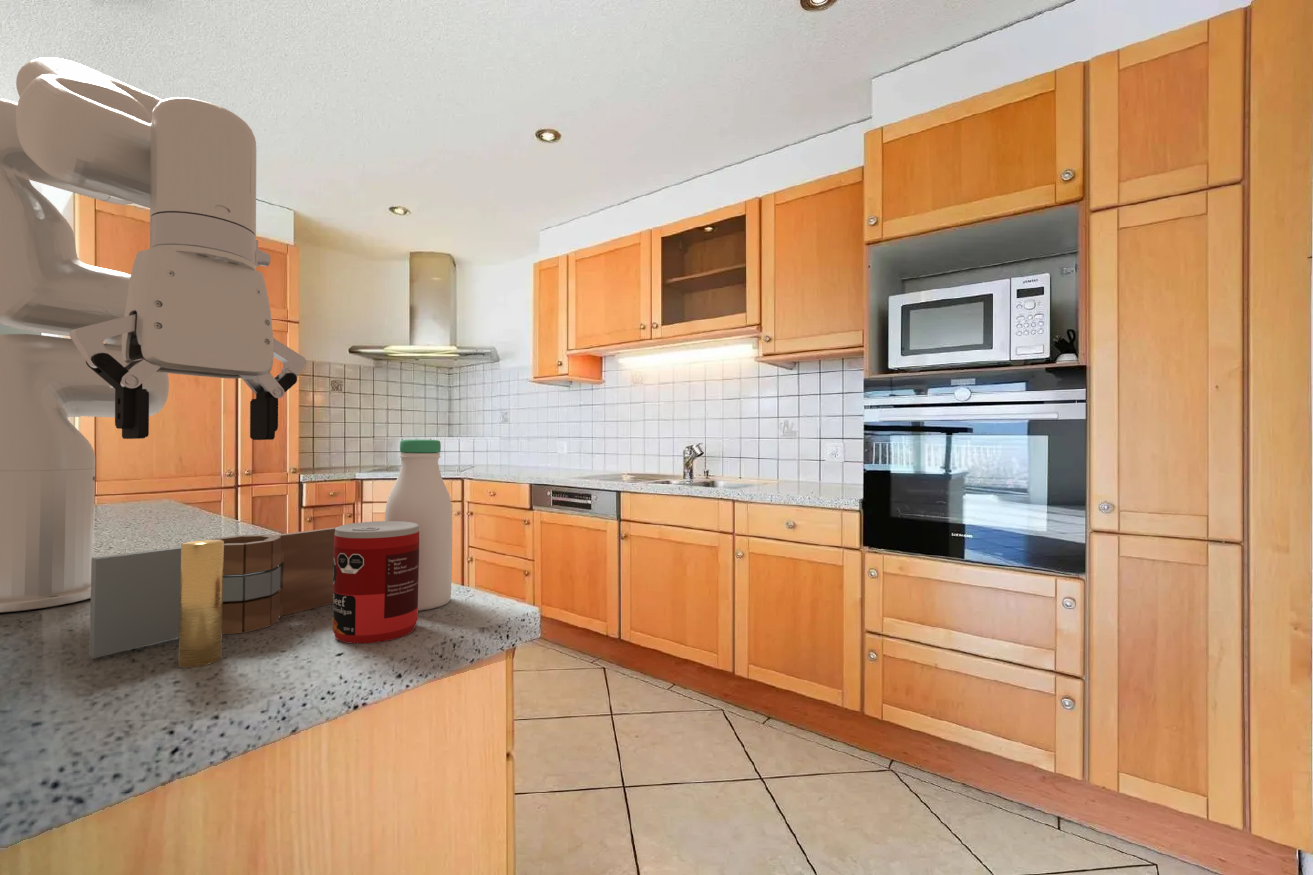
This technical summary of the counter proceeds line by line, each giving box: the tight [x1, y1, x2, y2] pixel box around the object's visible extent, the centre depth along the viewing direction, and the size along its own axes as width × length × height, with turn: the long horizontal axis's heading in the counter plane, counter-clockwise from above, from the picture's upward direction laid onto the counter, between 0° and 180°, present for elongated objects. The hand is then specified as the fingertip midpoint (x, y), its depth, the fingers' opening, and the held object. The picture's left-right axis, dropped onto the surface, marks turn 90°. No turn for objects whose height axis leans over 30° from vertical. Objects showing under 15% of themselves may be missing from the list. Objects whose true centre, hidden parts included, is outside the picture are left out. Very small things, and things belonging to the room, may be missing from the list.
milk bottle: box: [384, 438, 453, 612], centre depth 70 cm, size 8×8×20 cm
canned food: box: [332, 520, 419, 644], centre depth 60 cm, size 8×8×11 cm
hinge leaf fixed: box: [210, 526, 338, 635], centre depth 66 cm, size 6×16×9 cm, turn 151°
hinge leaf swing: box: [88, 546, 281, 659], centre depth 58 cm, size 6×15×9 cm, turn 151°
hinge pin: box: [178, 539, 224, 668], centre depth 52 cm, size 3×3×10 cm
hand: (203, 439), depth 52 cm, fingers open, 9 cm apart
